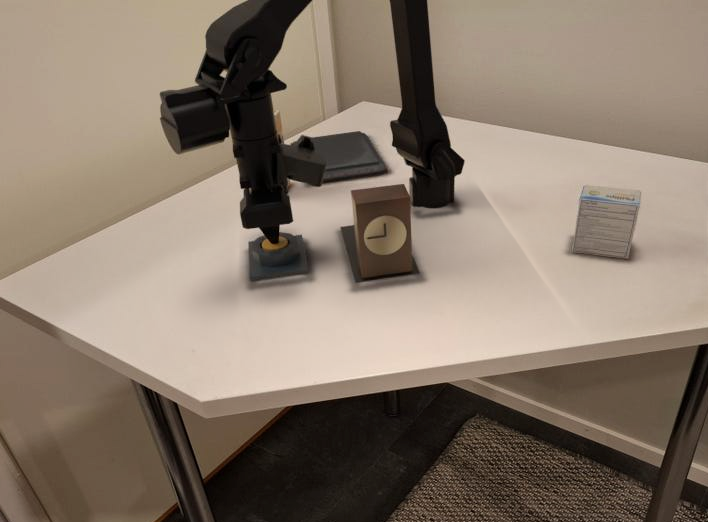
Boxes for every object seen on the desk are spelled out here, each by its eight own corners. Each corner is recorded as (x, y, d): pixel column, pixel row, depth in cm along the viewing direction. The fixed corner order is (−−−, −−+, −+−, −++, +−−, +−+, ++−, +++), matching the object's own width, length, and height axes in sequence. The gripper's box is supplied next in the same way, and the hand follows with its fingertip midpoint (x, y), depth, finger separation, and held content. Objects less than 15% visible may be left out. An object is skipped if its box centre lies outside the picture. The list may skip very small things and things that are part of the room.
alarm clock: (403, 183, 82) (410, 197, 79) (406, 256, 89) (413, 272, 86) (350, 190, 81) (355, 204, 78) (357, 263, 88) (362, 279, 85)
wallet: (388, 164, 112) (303, 175, 110) (388, 174, 113) (304, 185, 111) (366, 126, 127) (291, 135, 125) (367, 135, 128) (293, 144, 126)
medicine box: (630, 245, 91) (642, 189, 86) (628, 260, 88) (640, 204, 83) (574, 238, 94) (583, 183, 88) (570, 253, 90) (579, 197, 85)
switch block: (250, 251, 94) (245, 230, 92) (303, 244, 95) (300, 223, 93) (251, 287, 87) (246, 265, 85) (309, 279, 88) (305, 257, 86)
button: (263, 248, 91) (261, 238, 90) (288, 245, 92) (286, 234, 90) (264, 261, 88) (262, 250, 87) (290, 257, 89) (288, 247, 88)
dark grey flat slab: (397, 224, 99) (397, 219, 98) (420, 279, 87) (420, 273, 86) (340, 232, 98) (340, 226, 97) (356, 288, 86) (355, 282, 85)
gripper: (326, 153, 73) (339, 268, 83) (311, 102, 87) (324, 206, 97) (228, 164, 71) (254, 280, 81) (229, 110, 85) (251, 215, 95)
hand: (274, 242), depth 89 cm, fingers closed, pressing on button
